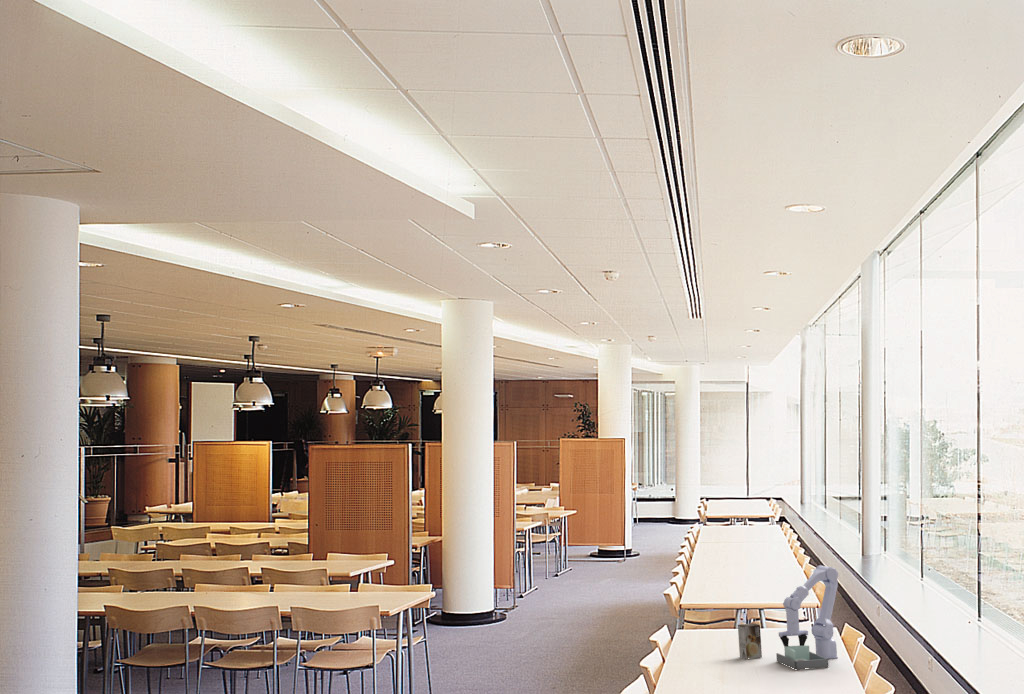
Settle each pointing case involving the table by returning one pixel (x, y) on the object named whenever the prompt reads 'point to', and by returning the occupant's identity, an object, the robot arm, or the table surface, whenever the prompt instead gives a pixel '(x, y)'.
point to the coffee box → (749, 640)
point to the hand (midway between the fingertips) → (794, 651)
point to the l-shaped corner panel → (797, 652)
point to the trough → (814, 661)
